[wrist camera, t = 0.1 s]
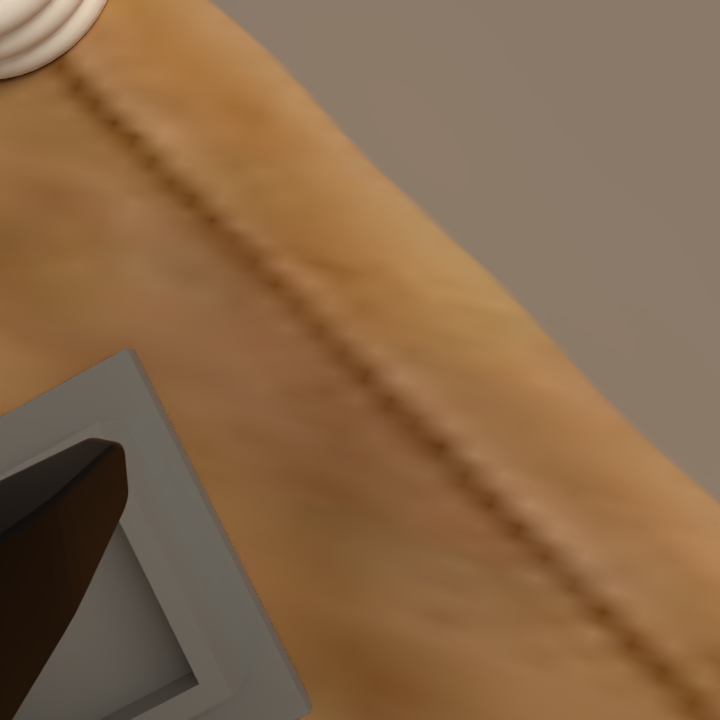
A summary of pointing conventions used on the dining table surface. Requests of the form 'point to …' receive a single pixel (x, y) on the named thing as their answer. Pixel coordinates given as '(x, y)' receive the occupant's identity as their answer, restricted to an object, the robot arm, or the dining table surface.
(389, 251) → the dining table surface
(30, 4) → the white round disc
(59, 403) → the tray
